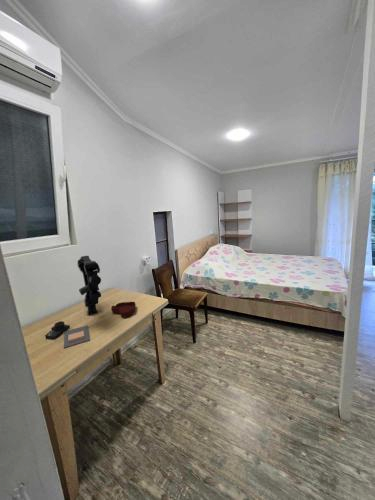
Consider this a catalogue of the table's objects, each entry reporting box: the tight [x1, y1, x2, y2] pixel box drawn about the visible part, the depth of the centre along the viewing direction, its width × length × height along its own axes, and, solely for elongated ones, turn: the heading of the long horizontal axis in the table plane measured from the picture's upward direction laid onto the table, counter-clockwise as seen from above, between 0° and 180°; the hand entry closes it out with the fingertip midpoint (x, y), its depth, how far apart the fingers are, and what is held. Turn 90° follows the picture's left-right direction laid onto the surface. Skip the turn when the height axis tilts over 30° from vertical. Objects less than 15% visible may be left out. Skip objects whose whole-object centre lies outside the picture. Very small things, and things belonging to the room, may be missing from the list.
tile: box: [68, 331, 84, 343], centre depth 120 cm, size 2×8×6 cm
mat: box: [63, 325, 91, 349], centre depth 122 cm, size 18×13×1 cm
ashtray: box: [110, 301, 137, 318], centre depth 151 cm, size 18×16×5 cm
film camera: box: [45, 320, 71, 340], centre depth 126 cm, size 13×8×10 cm
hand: (95, 303), depth 136 cm, fingers closed
